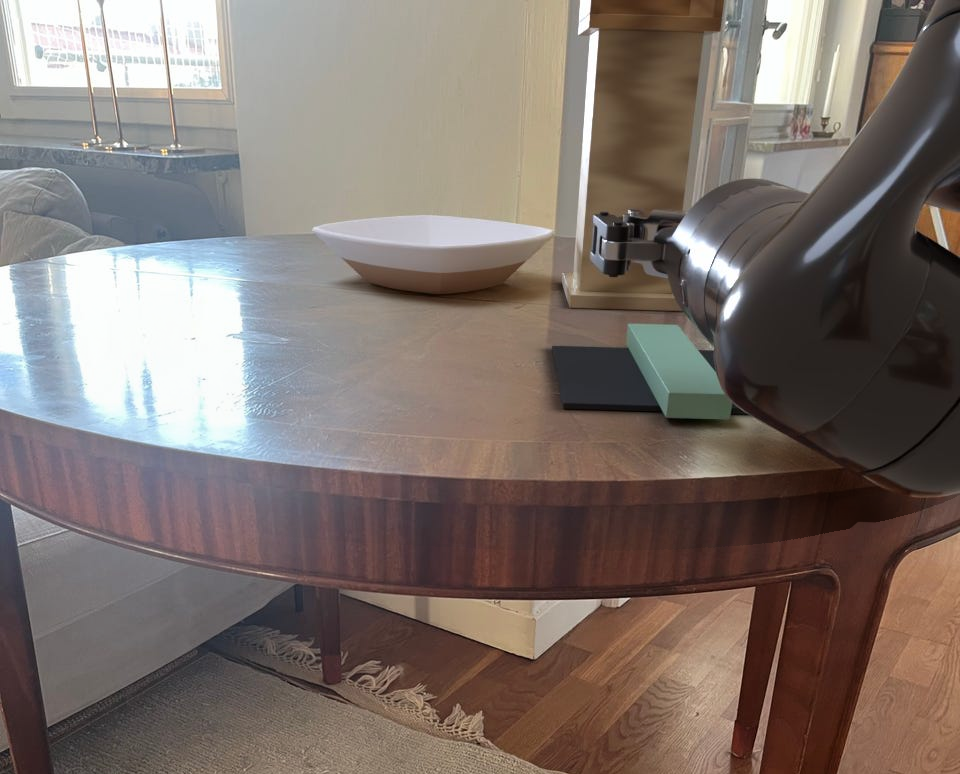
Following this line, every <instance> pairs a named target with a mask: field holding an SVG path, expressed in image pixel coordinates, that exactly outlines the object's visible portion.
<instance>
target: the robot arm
mask: <svg viewBox="0 0 960 774" xmlns="http://www.w3.org/2000/svg"><path fill="white" fill-rule="evenodd" d="M925 205H927V206H930V207H934V208H938V209H940V210H944V211H945V210H946V211H948V212H952V213H955V214H959V215H960V0H935V1H934V3H933V5H932V7H931V9H930V11H929V13H928V15H927V17H926V19H925V21H924V23H923V25H922V27H921V29H920V31H919V32H918V35H917V37H916V40H915V42H914V44H913V46H912V48H911V49H910V51H909V54H908V55H907V58H906V59H905V61H904V63H903V65H902V67H901V69H900V71H899V72H898V73H897V76H896V77H895V79H894V81H893V82H892V84H891V86H890V87H889V88H888V90H887V91H886V94H885V95H884V96H883V97H882V100H881V101H880V103H879V104H878V105H877V107H876V108H875V110H874V111H873V112H872V114H871V115H870V116H869V118H868V119H867V121H866V122H865V123H864V125H863V126H862V128H861V129H860V130H859V132H858V133H857V134H856V136H855V137H854V138H853V140H852V141H851V142H850V144H849V145H848V146H847V147H846V149H845V150H844V151H843V153H842V154H841V155H840V156H839V158H838V159H837V160H836V161H835V163H834V164H833V165H832V167H831V168H830V169H829V170H828V171H827V173H825V175H824V176H823V178H822V179H821V180H820V181H819V182H818V183H817V184H816V185H815V186H814V188H813V189H812V190H811V192H806V191H803V190H799V189H797V188H793V187H791V186H788V185H785V184H782V183H778V182H776V181H772V180H769V179H763V178H754V177H753V178H742V179H737V180H732V181H729V182H726V183H723V184H721V185H719V186H717V187H715V188H714V189H711V190H710V191H709V192H707V193H706V194H704V195H703V196H702V197H701V198H699V199H698V200H697V201H696V202H695V203H694V204H693V205H692V206H691V207H690V209H688V210H676V209H657V210H652V211H651V212H650V214H649V215H646V214H644V213H643V212H642V211H641V210H633V209H629V210H628V214H624V217H622V216H620V217H616V216H615V215H611V214H609V212H600V214H594V215H593V224H594V226H593V239H592V251H591V253H590V260H591V261H592V262H593V263H594V265H595V266H596V267H597V268H598V269H599V270H600V271H601V272H602V273H603V274H606V275H609V277H618V275H624V274H625V272H627V271H630V264H631V263H633V262H635V263H640V264H642V265H643V267H644V271H645V273H646V274H648V275H652V276H657V277H661V278H666V279H669V283H670V287H671V290H672V292H673V295H674V297H675V299H676V301H677V303H678V305H679V306H680V308H681V309H682V311H681V312H683V313H684V315H685V316H686V317H687V318H688V320H689V321H690V322H691V323H692V324H693V326H694V327H695V328H696V329H697V330H698V332H699V333H700V334H701V336H702V337H703V338H704V339H705V340H706V341H707V343H709V344H710V345H711V346H712V347H713V350H714V363H715V369H716V375H717V378H718V380H719V383H720V386H721V388H722V390H723V392H724V393H725V395H726V396H727V397H728V399H729V400H730V401H731V402H732V403H734V404H735V405H736V406H737V407H739V408H740V409H741V410H742V411H744V412H745V413H747V414H746V415H749V416H751V417H753V418H754V419H756V420H758V421H759V422H761V423H763V424H764V425H766V426H768V427H770V428H771V429H773V430H776V432H779V433H781V434H783V435H785V436H787V437H788V438H790V439H792V440H793V441H795V442H798V443H799V444H801V445H803V446H805V447H807V448H808V449H811V451H813V452H816V453H817V454H819V455H821V456H823V457H825V458H826V459H828V460H830V461H832V462H834V463H836V464H838V465H839V466H841V467H843V468H844V469H847V470H849V471H850V472H851V473H853V474H855V475H857V476H859V477H861V478H862V479H864V480H866V481H868V482H870V483H871V484H873V485H875V486H877V487H879V488H881V489H883V490H886V491H888V492H891V493H894V494H898V495H901V496H906V497H910V498H911V497H912V498H927V499H930V498H940V497H948V496H951V495H956V494H959V493H960V256H959V255H958V254H956V253H954V252H953V251H951V250H950V249H948V248H946V247H944V246H943V245H941V244H940V243H938V242H937V241H935V240H933V239H932V238H930V237H928V236H926V235H925V234H924V233H923V232H921V231H920V230H918V229H917V225H918V221H919V218H920V215H921V213H922V211H923V208H924V207H925ZM674 223H680V224H679V226H673V225H674ZM646 228H647V231H648V234H647V240H644V238H645V229H646Z"/></svg>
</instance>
